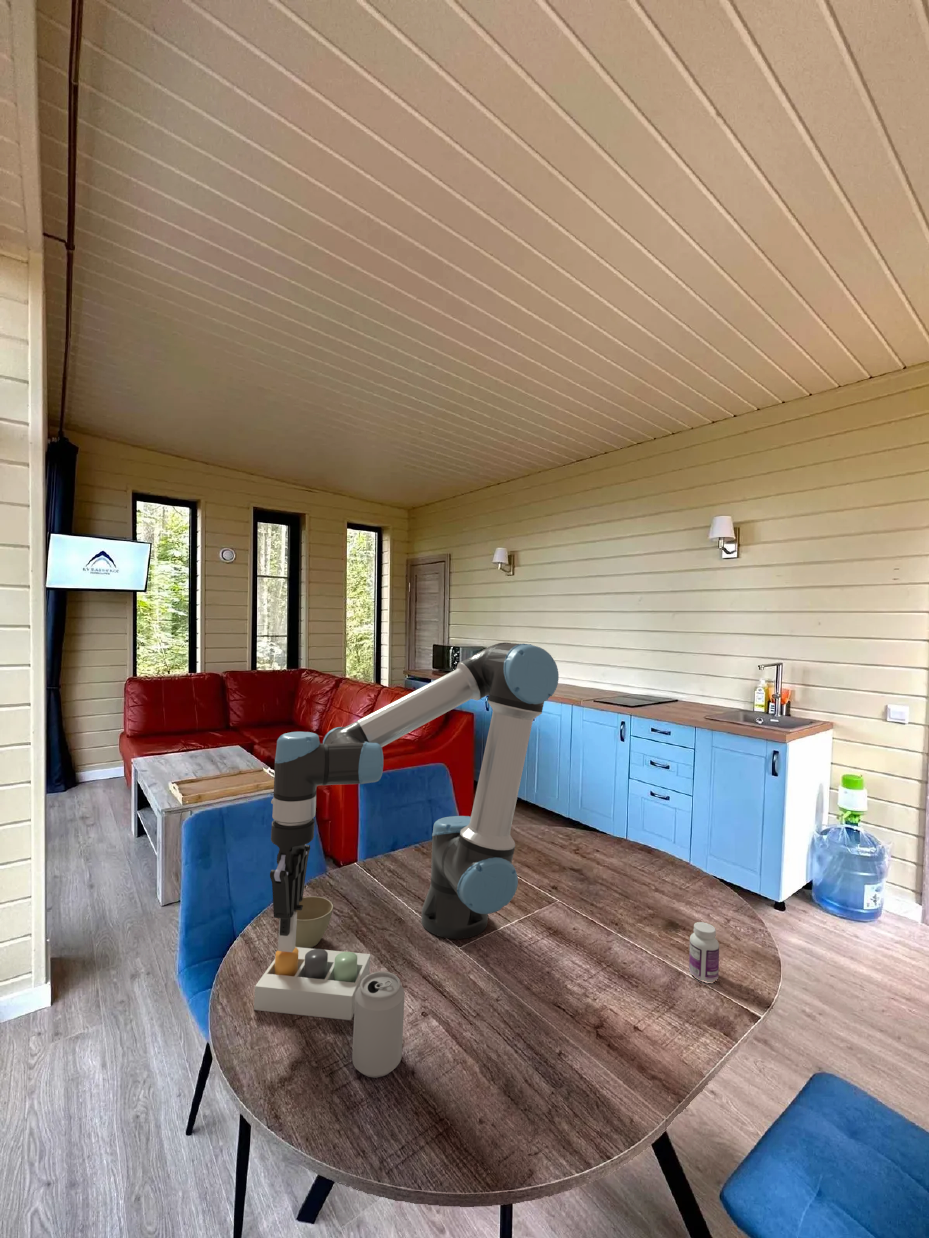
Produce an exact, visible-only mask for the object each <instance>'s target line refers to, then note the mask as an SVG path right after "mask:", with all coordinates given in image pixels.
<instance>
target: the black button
mask: <svg viewBox="0 0 929 1238" xmlns="http://www.w3.org/2000/svg"><path fill="white" fill-rule="evenodd" d="M313 949H314V950H311V951H309V952H307V953H306V955H305V967H304V977H305V978H314V979H324V980H325V978H326V976H327V961H328V953H327V951H325V950H326V949H322V948H313Z"/></svg>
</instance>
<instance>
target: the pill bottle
mask: <svg viewBox="0 0 929 1238" xmlns="http://www.w3.org/2000/svg"><path fill="white" fill-rule="evenodd" d="M716 935H717V930H716V928H715V926H713V925H712V924H710V923H707V922H703V921H698V922H695V923H694V924H693V932H692V933H691V934H690V937H689V954H688V955H689V960H688V961H689V962H688V963H689V964H688V971H690V972H689V974H690V973H691V974H692V975H694V976H695V977H696V978H698V979H700V980H704V981H707V982H713V981H715V980H717V979H718V980H719V972H720V970H719V969H720V966H719V965H720V963H719V962H720V943H719V941H718V939H717V938H716ZM691 974H690V975H691Z"/></svg>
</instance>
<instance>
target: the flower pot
mask: <svg viewBox="0 0 929 1238" xmlns="http://www.w3.org/2000/svg"><path fill="white" fill-rule="evenodd" d="M299 905H303V908H302V910H296V912H297V925H296V944H295V947H301V948H311V949H313V947H315V946H317V945H318V944H319V942H320V941H321V940H322V938H323V936H324V935H325V932H326V931H327V929H328V927H329V924H330V922H331V918H332V915H333V910H334V905H333V902H332V901H331V900H329V899H327V898H325V897H322V896H310V895H309V896H303V899H302V901H301V902H299Z"/></svg>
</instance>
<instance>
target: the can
mask: <svg viewBox="0 0 929 1238" xmlns="http://www.w3.org/2000/svg"><path fill="white" fill-rule="evenodd" d="M404 989H405V988H404V987H403V986H402V981H401V979H400V978H399V977H398V976H397V975H396V974H394V973H393V972H389V971H374V972H371V973H369V975H367V976H365V977H364V978H363V979H362V981H361V983H360V987H359V988H358V989H357V991H356V994H355V1011H354V1014H353V1017H354V1018H353V1033H352V1034H353V1036H352V1037H353V1038H352V1054H351V1055H352V1058H351V1059H352V1064H353V1066H354V1068H355V1069H356V1070H357V1071H358V1072H359V1073H361V1074H362V1075H363V1076H366V1077H368V1078H374V1079H375V1078H382V1077H384V1076H387V1075H389V1074H390V1073H391V1072H392V1071H393V1070H394V1069H396V1068H397V1067H398V1065H399V1064H400V1063H401V1060H402V1057H403V1056H402V1055H403V1037H404V1036H403V1035H404V1016H405V996H406V995H405V990H404Z"/></svg>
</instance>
